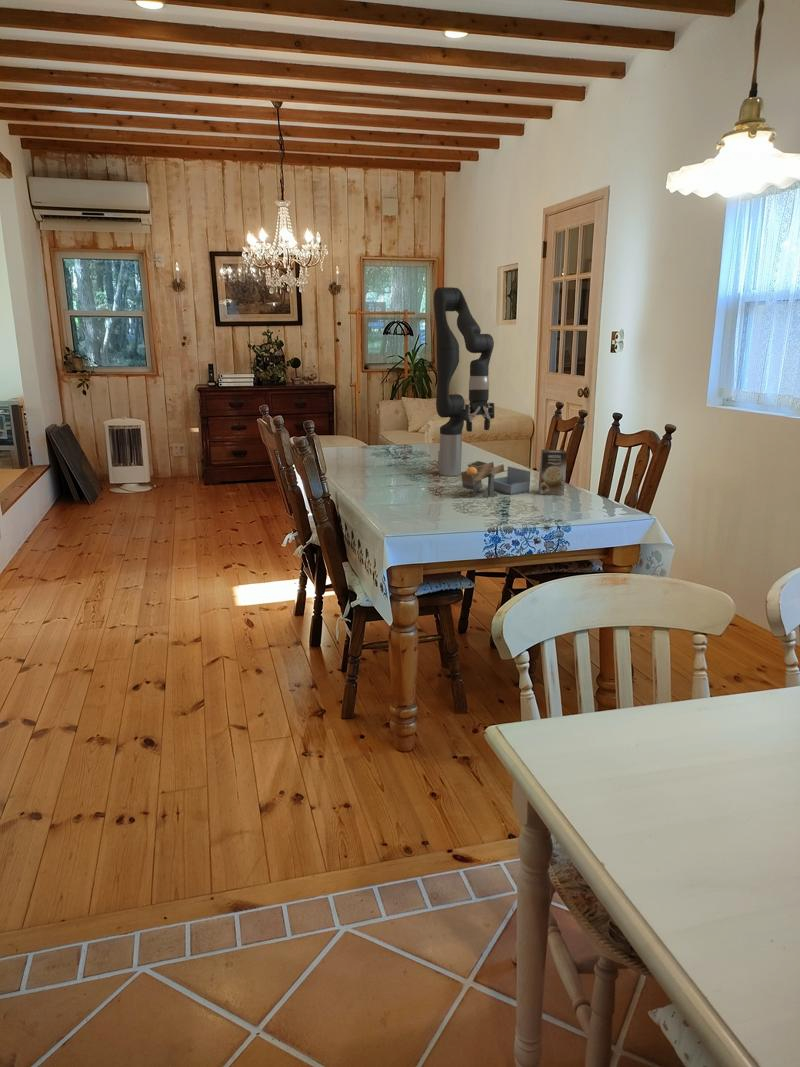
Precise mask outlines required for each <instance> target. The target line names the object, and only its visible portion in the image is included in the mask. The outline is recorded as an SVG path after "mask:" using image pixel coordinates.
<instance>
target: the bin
mask: <svg viewBox="0 0 800 1067" xmlns="http://www.w3.org/2000/svg"><path fill="white" fill-rule="evenodd" d="M506 474H507V475H506V476H501V477H494V487H493V491H495V490H496V492H498V491H500V492H499V493H502V492H503V494H505V493H506V494H507V495H509V494H510V496H513V494H514V495H520V494H519V493H521V494H525V493H524V492H527V493H530V487H531V484H530V483H531V470H526V469H522V468H518V467H513V466H509V465H508V466H507V470H506Z"/></svg>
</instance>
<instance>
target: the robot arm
mask: <svg viewBox="0 0 800 1067" xmlns="http://www.w3.org/2000/svg"><path fill="white" fill-rule="evenodd" d="M432 299H433V311H434V322H435V334H436V335H435V337H436V338H435V339H436V341H435V342H436V346H435V350H436V352H435V353H436V373H437V375H436V377H437V378H436V396H435V397H436V398H435V399H436V400H435V407H436V408H435V410H436V412H437V415H438V416H439V417H440V418H449V419H448V421H447V422H446V423H444V424H443V425H441V426H440V428H439V450H438V454H437V455H438V456H437V459H438V460H437V473H438V475H440V476H447V477H456V476H457V477H458V476H461V473H462V455H463V454H462V452H463V451H462V450H463V449H462V447H463V440H462V439H463V428H464V424H466V426H465V428H466V432H469V433H470V432H473V422H472V421H473V420H474V418H475V417H476V416H482V417H483V418H484V419H483V420H484V421H483V429H484V431H489V430H490V428H491V420H492V419H495V403H494V402H488V401H489V399H490V398H489V394H490V393H489V392H490V391H489V389H490V388H489V387H490V382H489V366H490V361H491V357H492V353H493V350H494V346H495V341H494V338H493V336H492V335H491V334H490V333H481V332H482V330H481V328H480V325H479V324H478V322H477V321H476V319H475V318H474V317H473V315H472V313H471V311H470V308H469V305H468V303H467V301H466V298H465V296H464V294H463V292H462V291H461V289H460V288H458V287H452V286H451V287H448V286H447V287H445V286H444V287H443V286H441V287H437V288H435V290H434V293H433V298H432ZM446 312H456V313H458V315H457V318H456V327H457V329H458V331H459V332H460V333H461V335H462V336H463V340H464V346H465V349H466V350H467V351H468V352H469V353H471V354H480V356H479V358H477V359H472V360H471V361H470V363H469V379H468V380H469V381H468V400H469V403H468V404H467V403H466V402H465V399H464V397H463V396H462V395H461V394H460V393H459V394H456V393H454V394H453V393H452V394H450V384H451V380H452V378H453V376H454V374H455V373H456V372H455V371H456V370H457V369H458V366H459V363H460V345H459V342H458V340H457V338H456V336H455V334H454V332H453V331H452V330H451V328H450V326H449V323H448V320H447V314H446Z"/></svg>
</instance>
